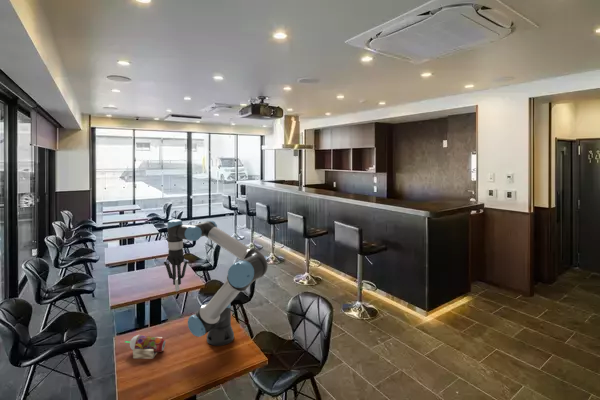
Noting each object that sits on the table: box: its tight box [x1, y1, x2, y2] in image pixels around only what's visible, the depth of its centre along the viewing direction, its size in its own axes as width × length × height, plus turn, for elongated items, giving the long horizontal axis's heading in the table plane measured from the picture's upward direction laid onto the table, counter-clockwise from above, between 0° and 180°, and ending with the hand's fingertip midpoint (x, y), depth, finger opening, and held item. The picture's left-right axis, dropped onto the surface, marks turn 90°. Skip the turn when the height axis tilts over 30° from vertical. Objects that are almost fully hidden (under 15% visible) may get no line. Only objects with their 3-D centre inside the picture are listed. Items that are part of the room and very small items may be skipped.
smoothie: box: [124, 334, 166, 353], centre depth 177 cm, size 8×8×20 cm
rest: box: [132, 336, 164, 360], centre depth 178 cm, size 10×13×4 cm
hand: (177, 290), depth 184 cm, fingers closed
